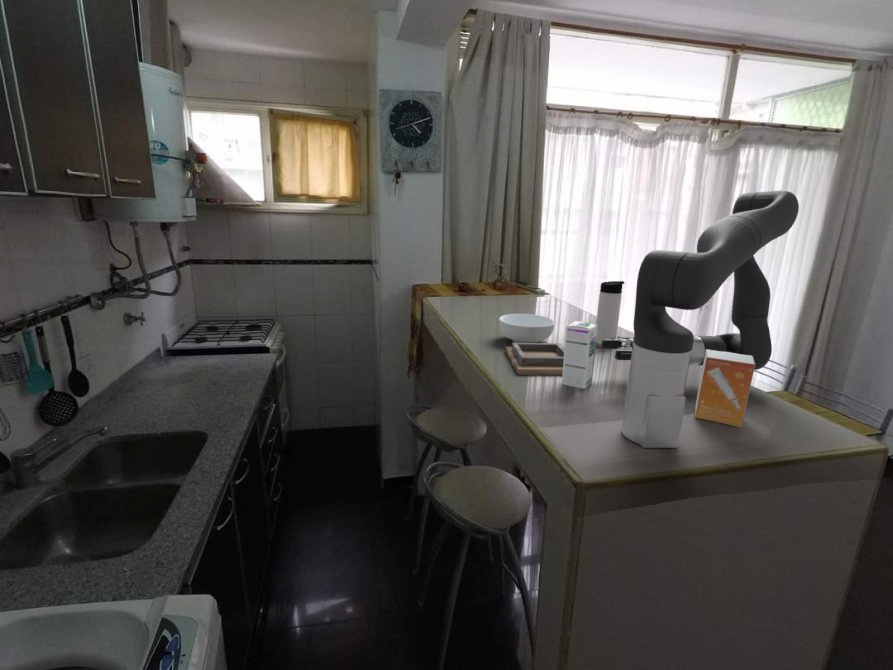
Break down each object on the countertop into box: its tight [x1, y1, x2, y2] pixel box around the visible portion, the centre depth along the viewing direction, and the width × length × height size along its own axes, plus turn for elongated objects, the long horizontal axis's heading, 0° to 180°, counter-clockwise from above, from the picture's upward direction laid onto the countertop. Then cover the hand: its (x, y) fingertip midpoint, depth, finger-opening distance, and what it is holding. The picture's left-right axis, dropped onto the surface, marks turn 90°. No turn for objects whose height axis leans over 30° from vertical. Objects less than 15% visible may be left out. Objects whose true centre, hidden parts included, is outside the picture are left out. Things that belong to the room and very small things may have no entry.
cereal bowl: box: [498, 313, 555, 343], centre depth 141 cm, size 17×17×7 cm
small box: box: [694, 349, 755, 428], centre depth 89 cm, size 8×6×13 cm
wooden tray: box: [505, 342, 565, 376], centre depth 121 cm, size 19×16×4 cm
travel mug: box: [595, 280, 625, 349], centre depth 136 cm, size 6×7×20 cm
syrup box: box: [561, 320, 597, 390], centre depth 105 cm, size 6×6×14 cm
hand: (608, 349), depth 105 cm, fingers open, 8 cm apart
